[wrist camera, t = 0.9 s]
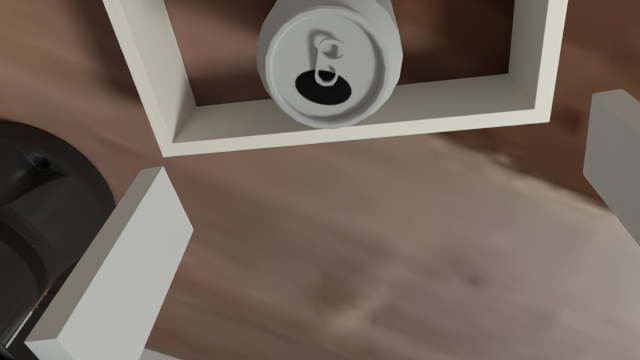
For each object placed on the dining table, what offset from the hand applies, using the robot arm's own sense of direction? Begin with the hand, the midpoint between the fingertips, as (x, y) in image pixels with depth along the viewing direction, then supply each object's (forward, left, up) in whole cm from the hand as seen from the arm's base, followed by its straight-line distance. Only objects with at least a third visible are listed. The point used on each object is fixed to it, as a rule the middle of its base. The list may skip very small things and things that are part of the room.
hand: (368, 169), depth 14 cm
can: (-2, 0, -21) cm, 21 cm away
